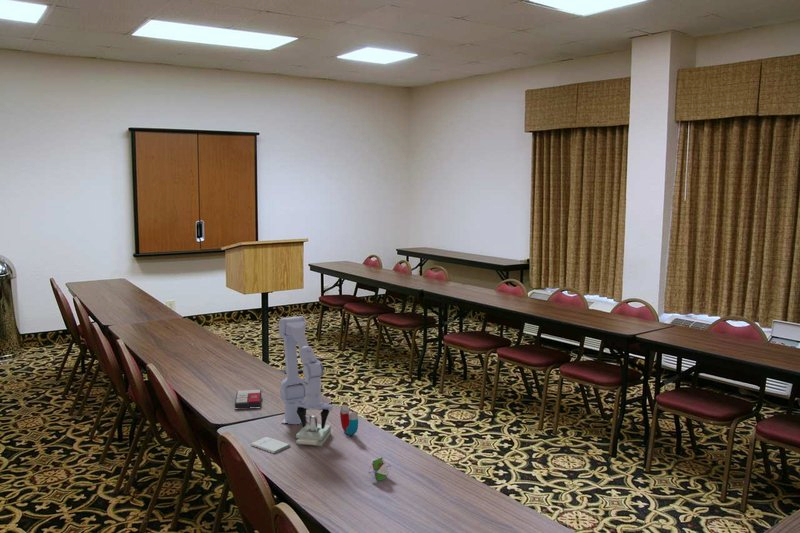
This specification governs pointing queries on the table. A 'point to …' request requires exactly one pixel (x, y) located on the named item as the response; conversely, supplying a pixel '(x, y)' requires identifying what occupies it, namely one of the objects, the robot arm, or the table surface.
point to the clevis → (313, 435)
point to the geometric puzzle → (379, 469)
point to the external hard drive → (270, 445)
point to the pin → (313, 423)
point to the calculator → (248, 399)
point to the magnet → (348, 420)
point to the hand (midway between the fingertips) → (313, 427)
